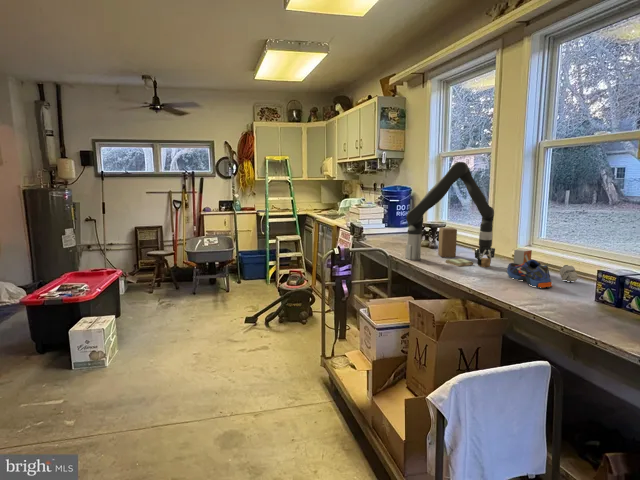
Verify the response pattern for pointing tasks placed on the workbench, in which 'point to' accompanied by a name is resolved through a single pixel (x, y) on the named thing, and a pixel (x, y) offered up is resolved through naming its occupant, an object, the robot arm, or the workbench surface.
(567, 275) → the beige lumpy piece
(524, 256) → the small box
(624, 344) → the workbench surface
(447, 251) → the wooden block
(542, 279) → the running shoe
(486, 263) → the oak cube
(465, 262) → the pad
